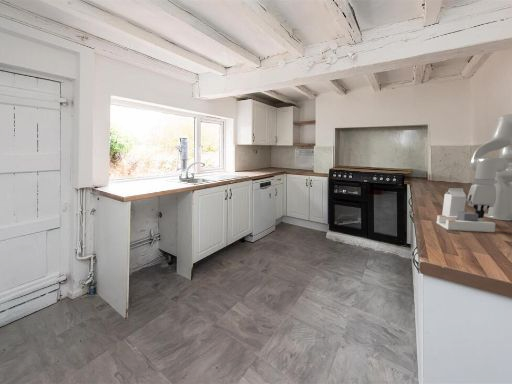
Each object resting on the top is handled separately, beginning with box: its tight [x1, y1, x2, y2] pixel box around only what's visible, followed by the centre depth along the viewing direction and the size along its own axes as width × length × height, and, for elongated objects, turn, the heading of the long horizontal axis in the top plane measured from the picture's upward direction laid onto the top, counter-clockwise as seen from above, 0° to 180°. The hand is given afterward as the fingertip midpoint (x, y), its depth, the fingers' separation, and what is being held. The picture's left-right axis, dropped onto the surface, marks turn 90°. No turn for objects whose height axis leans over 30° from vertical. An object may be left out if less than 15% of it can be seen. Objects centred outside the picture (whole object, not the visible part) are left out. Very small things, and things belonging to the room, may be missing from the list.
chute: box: [436, 214, 496, 233], centre depth 125 cm, size 20×12×5 cm, turn 77°
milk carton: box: [441, 187, 467, 216], centre depth 136 cm, size 7×7×19 cm
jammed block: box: [457, 210, 479, 221], centre depth 125 cm, size 6×6×7 cm
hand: (478, 217), depth 123 cm, fingers closed
